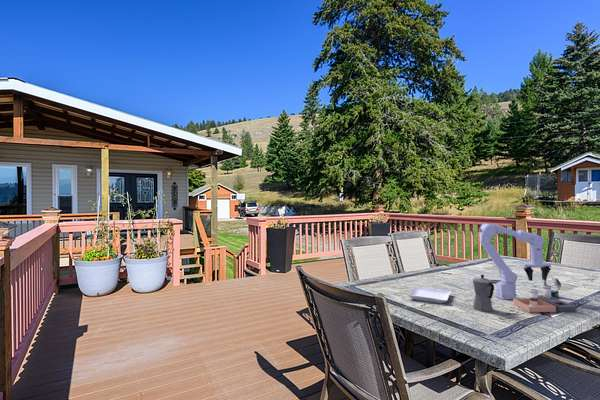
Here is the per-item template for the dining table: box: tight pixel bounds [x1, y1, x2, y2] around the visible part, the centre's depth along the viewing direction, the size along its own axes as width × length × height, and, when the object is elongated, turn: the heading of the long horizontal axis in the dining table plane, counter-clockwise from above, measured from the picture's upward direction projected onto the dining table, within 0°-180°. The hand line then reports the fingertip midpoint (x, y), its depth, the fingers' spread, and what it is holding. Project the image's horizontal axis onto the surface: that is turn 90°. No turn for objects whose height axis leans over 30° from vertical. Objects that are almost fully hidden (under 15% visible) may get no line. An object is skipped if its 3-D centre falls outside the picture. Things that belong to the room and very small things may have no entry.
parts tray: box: [512, 298, 557, 314], centre depth 178 cm, size 13×13×3 cm
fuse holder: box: [538, 294, 577, 313], centre depth 182 cm, size 8×20×2 cm, turn 179°
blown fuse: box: [528, 288, 539, 306], centre depth 178 cm, size 4×4×9 cm
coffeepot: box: [472, 274, 495, 313], centre depth 178 cm, size 15×9×18 cm, turn 6°
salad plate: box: [407, 286, 453, 304], centre depth 200 cm, size 21×21×3 cm
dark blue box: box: [543, 276, 562, 299], centre depth 197 cm, size 6×8×11 cm
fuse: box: [542, 284, 552, 299], centre depth 187 cm, size 4×4×9 cm
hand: (537, 280), depth 194 cm, fingers open, 7 cm apart
